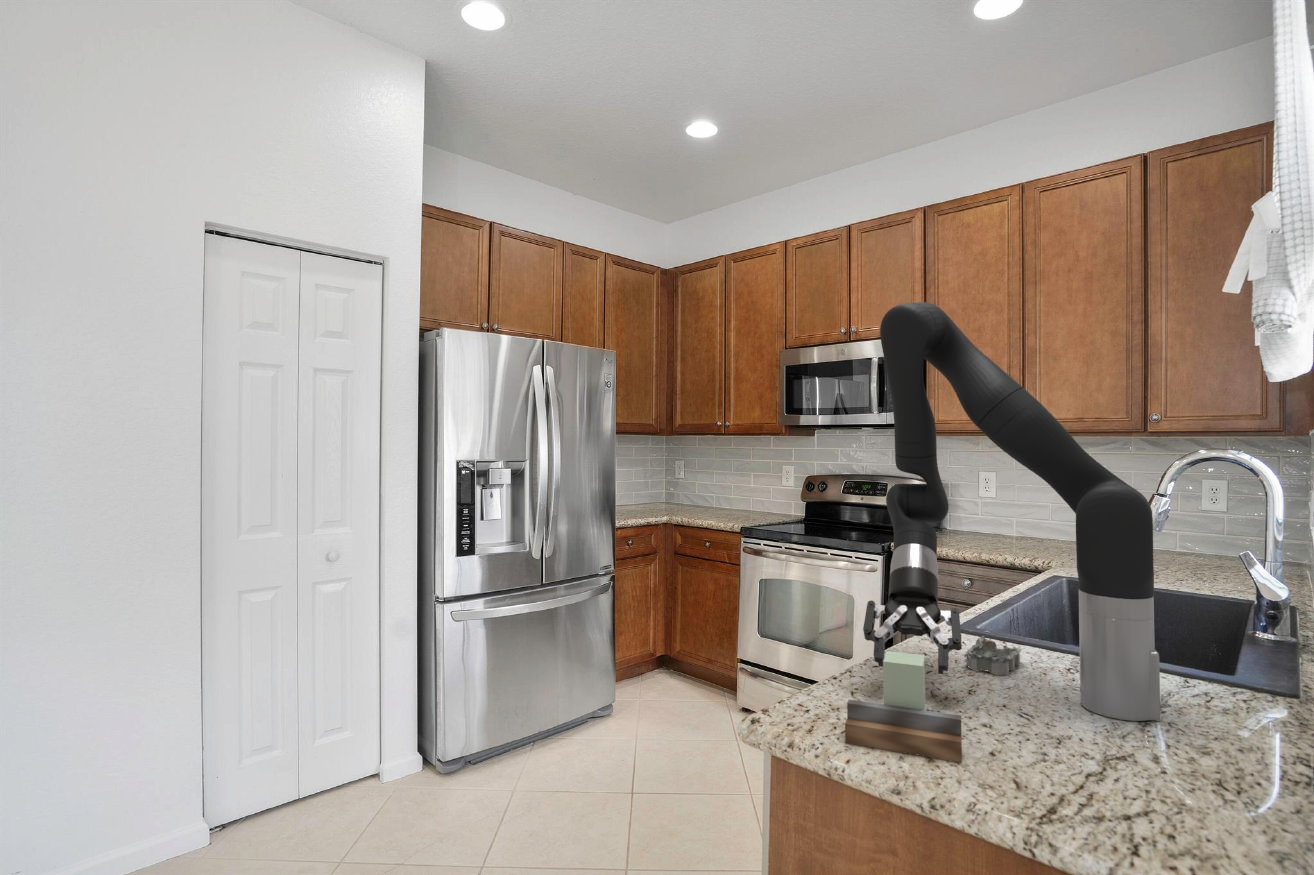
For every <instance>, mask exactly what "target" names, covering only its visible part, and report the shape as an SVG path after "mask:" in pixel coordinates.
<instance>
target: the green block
mask: <svg viewBox="0 0 1314 875" xmlns="http://www.w3.org/2000/svg"><path fill="white" fill-rule="evenodd" d="M882 669H883V670H882V671H883V676H882V677H883V678H882V679H883V685H882V686H883V690H882V691H883V704H885V705H892V706H898V707H905V708H912V709H919V710H926V655H923V654H915V653H908V652H907V653H905V652H901V651H900V652H899V651H889V650H886V651H885V653H884V660H883V667H882Z"/></svg>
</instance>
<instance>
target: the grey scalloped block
mask: <svg viewBox="0 0 1314 875" xmlns="http://www.w3.org/2000/svg"><path fill="white" fill-rule="evenodd" d="M1022 650H1023V648H1017V647H1015V646H1013V648H1011V647H1008V645H1004V646H1003V648H998V647H997V643H996V642H995V641H994V640H991V639H987V638H986V637H985V635H982V636H979V638H977V639H976V641H975V644H972V646H971V647H970V648H969V649H967V651H966V653H965V654H964V658H966V661H967V662H966V667H967V666H969V667H970V668H971V669H973V670H980V671H981V669H982V670H988V671H990V672H991V675H993V674H995V675H994V676H1009V675H1010V671H1014V670H1015V666H1016V665H1019V666H1021V657H1020V656H1021V652H1022ZM970 668H969V669H970ZM971 669H970V670H971ZM973 670H972V671H973ZM988 671H987V672H988ZM990 672H989V673H990Z"/></svg>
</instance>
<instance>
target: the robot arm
mask: <svg viewBox="0 0 1314 875" xmlns="http://www.w3.org/2000/svg"><path fill="white" fill-rule="evenodd" d="M879 335H880V336H879V337H880V344H881V347H882V348H881V349H882V354H883V359H884V364H885V368H886V374H887V380H888V384H889V391H890V398H891V404H892V405H891V406H892V412H893V414H892V415H893V422H894V423H893V424H894V425H893V426H894V455H895V456H894V460H895V466H896V469H897V470H899V471H900V472H903V473H907V474H911V475H915V476H919V477H920V478H922V479H923V480H924V481H925V483H896V484H894V485H892V486H891V487H890V488H889V489H888V491H887V493H886V497H885V503H886V507H887V512H888V516H889V518H890V521H891V524H892V529H893V550H892V557H891V561H890V570H889V582H888V583H889V584H888V600H887V602H886V604H885V605H884V604H883V605H882V604H876V603H875V601H874V600H869V601H867V604H866V609H865V616H864V622H863V628H862V631H863V636H864V639H865V640H866V641H871V642H873V643H874V645H873V654H872V655H873V660H874V662H875V663H877V666H878V667H882V668H883V660H884V657H885V649H886V647H885V643H887V641H888V640H889V639H893V637H895V635H897V634H898V632H899V633H901V635H905V636H906V635H907V636H908V635H914V636H917V637H923V636H925V635H926V636H927V637H928V639H929V640H930V641H931V642H932V643H934V644H935V645H936V647H937V670H938V671H937V673H938V675H944V671H945V672H947V671H948V669H949V653H950V651H953V650H954V651H961V650H962V647H963V646H962V645H963V644H962V642H963V641H962V630H961V621H960V620H961V618H960V610H959V608H957V607H952V608H950V610H941V609H940V608H939V580H940V577H939V566H938V558H937V555H938V552H937V551H938V535H937V532H936V530H935V529H934V527H933V526H932V525H930V524H929V523H931V524H936V523H940V522H942V521H944V519H945V518H946V517H947V515H948V513H949V505H950V504H949V500H948V497H947V493H946V490H945V488H944V485H943V481H942V479H941V475H940V471H939V467H938V458H937V457H938V454H937V453H938V452H937V450H938V449H937V447H938V446H937V428H936V420H935V417H934V413H933V410H932V407H931V405H930V402H929V399H928V396H927V393H926V388H925V382H924V360H925V361H927V362H928V363H929V364H930V365H931V366H933V368H935V369H936V370H937V371H938V372H940V373H941V374H942V375H943V376H944V377H945V379H946V380H947V382H949V384H950V386H951V388H952V389H953V391H954V392H955V394H956V397H957V400H958V401H959V403H960V405H961V407H962V409H963V411H964V412H965V414H966V415H967V418H969V419H970V420H971V422H972V423H973V424H974V425H975V427H977V428H978V430H980V431H981V432H982V433H983V434H984V435H985V436H986V437H987V438H988V439H989V440H990V441H991V442H992V443H994V444H995V445H996V446H997V447H998V448H999V449H1000V450H1002V451H1003V452H1005V453H1006V454H1007V455H1008V456H1010V457H1011V458H1012V459H1014V460H1015V461H1017V463H1019V464H1021V466H1023V467H1025V468H1026V469H1027V470H1029V471H1031V472H1032V473H1034V474H1035V475H1037V476H1038V478H1040V479H1041V480H1043V481H1044V482H1046V483H1047V484H1048V485H1049V486H1050V487H1051V488H1052V489H1053V490H1054V491H1055V492H1056V493H1057V494H1058V495H1059V496H1060V497H1061V499H1062V500H1064V502H1065V503H1066V504H1067V505H1068V506H1069V508H1070V509H1071V510H1072V511H1073V513H1074V514H1075V546H1076V547H1075V552H1076V571H1077V579H1078V581H1077V582H1078V624H1079V625H1078V626H1079V628H1078V634H1079V635H1078V636H1079V641H1078V642H1079V644H1078V645H1079V693H1080V695H1079V699H1080V705H1081V706H1082V707H1084V708H1085V709H1087V710H1088V711H1090V712H1092V713H1094V714H1099V715H1101V716H1105V717H1108V718H1113V719H1118V720H1124V721H1135V722H1143V721H1144V722H1145V721H1157V722H1159V721H1161V689H1160V688H1161V686H1160V685H1161V684H1160V682H1161V681H1160V680H1161V679H1160V677H1161V676H1160V675H1161V674H1160V654H1159V652H1158V651H1157V650H1156V648H1155V646H1156V643H1155V641H1156V640H1155V639H1156V638H1155V604H1154V602H1155V601H1154V600H1155V599H1154V596H1155V590H1154V588H1155V569H1154V566H1155V565H1154V520H1153V519H1154V518H1153V510H1152V507H1151V504H1150V503H1149V501H1148V499H1147V498H1146V497H1145V496H1144V495H1143V493H1141V492H1140V491H1139V490H1137V489H1135V488H1134V487H1133V486H1131V485H1129V483H1127V482H1125V481H1124V480H1122V479H1121V478H1119V477H1118V476H1117V475H1115V474H1114V473H1113V472H1112V471H1110V470H1109V469H1108V468H1106V467H1104V465H1103V464H1101V463H1100V462H1099V461H1097V460H1096V459H1095V458H1093V457H1092V456H1091V455H1090V454H1089V453H1088V452H1087V451H1086V450H1085V449H1084V448H1083V447H1082V446H1081V445H1080V444H1079V443H1078V442H1077V441H1076V440H1075V439H1074V437H1073V436H1072V434H1070V432H1069V431H1068V430H1067V429H1066V428H1065V427H1064V426H1063V425H1062V424H1061V422H1059V420H1058V419H1056V417H1054V415H1053V414H1052V413H1050V411H1049V410H1048V409H1047V408H1046V407H1045V406H1044V405H1043V404H1042V403H1041V402H1039V400H1038V399H1037V398H1035V396H1033V395H1032V394H1031V393H1030V392H1029V391H1028V390H1026V388H1024V387H1023V386H1022V385H1021V384H1020V383H1019V382H1017V381H1016V380H1015V379H1013V377H1011V376H1010V375H1009V374H1008V373H1007V372H1006V371H1005V370H1003V369H1002V368H1001V367H1000V366H999V365H998V364H996V363H995V362H994V361H993V360H992V359H991V358H989V357H988V356H987V355H985V354H984V353H983V352H982V351H981V350H980V349H979V348H978V347H977V346H975V344H974V343H973V342H972V341H971V340H970V339H969V338H968V337H967V335H966V334H965V333H964V332H963V331H962V329H960V327H958V325H957V324H956V323H955V322H954V321H953V320H952V318H950V316H949V315H948V314H947V313H946V312H945V311H944V310H943V309H942V308H941V307H939V306H937V305H935V304H934V303H931V302H927V301H918V302H910V303H909V302H908V303H902V304H898V305H896V306H893V307H891V308H890V309H889V310H888V311H887V312H886V313H885V314H884V316H883V317H882V320H881V323H880V328H879ZM883 614H885V616H886V618H887V619H886V620H885V621H884V622H883V624H882V625H881V626H880V627H879V628H878V629H877V630H875V624H876V620H878V619H879V618H880V617H881V615H883ZM941 620H944V621H945V624H946V625H947V626H949V627H951V636H952V637H948V638H947V636H946V635H945V633H943V632H942V631H941V629H940V627H939V625H938V624H939V622H940V621H941Z"/></svg>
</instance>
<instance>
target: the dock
mask: <svg viewBox="0 0 1314 875" xmlns="http://www.w3.org/2000/svg"><path fill="white" fill-rule="evenodd" d="M846 704H847V705H846V706H847V708H846V709H847V712H846V713H847V714H846V715H847V716H846V717H847V718H846V720H845V724H844V734H845V736H844V741H845V742H844V743H845V744H851V745H857V746H861V747H868V748H874V749H880V750H885V751H893V752H896V753H902V752H906V753H905V754H908V753H911V754H910V755H914V754H919V755H918V756H920V755H924V756H923V757H925V756H930V757H929V758H931V757H933V758H934V759H937V758H938V760H944V761H948V762H949V761H951V762H955V761H956V763H963V751H962V748H963V745H962V740H963V738H962V734H963V733H962V715H959V714H953V713H945V712H939V711H933V710H926V709H925V710H919V709H912V708H905V707H898V706H892V705H885V704H884V703H877V702H870V701H863V700H856V699H850V698H849V699H848V701H847V703H846Z"/></svg>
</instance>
